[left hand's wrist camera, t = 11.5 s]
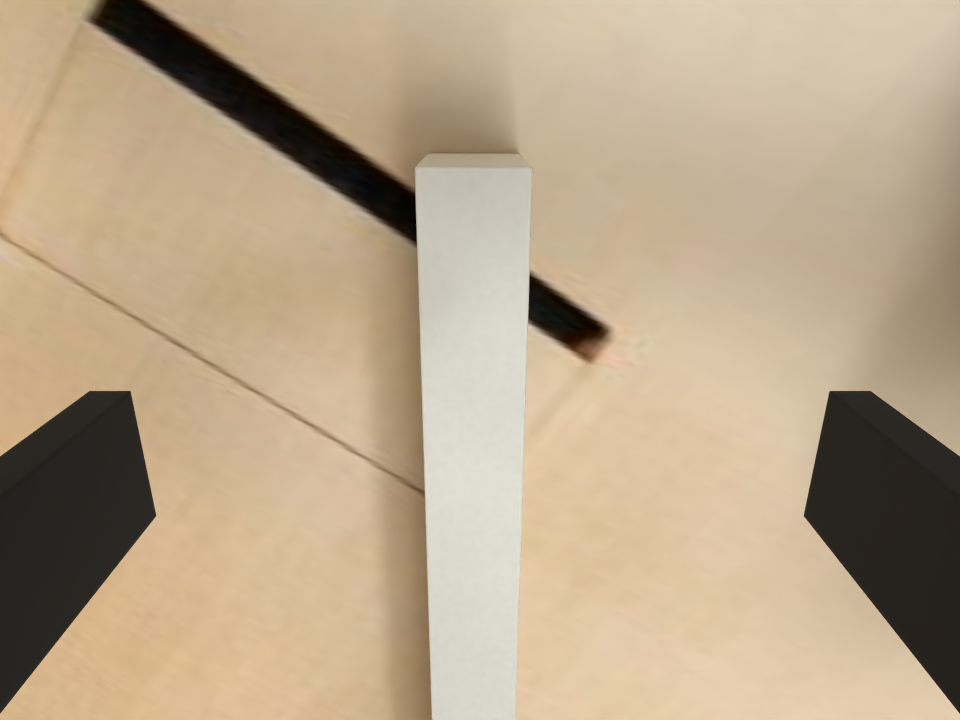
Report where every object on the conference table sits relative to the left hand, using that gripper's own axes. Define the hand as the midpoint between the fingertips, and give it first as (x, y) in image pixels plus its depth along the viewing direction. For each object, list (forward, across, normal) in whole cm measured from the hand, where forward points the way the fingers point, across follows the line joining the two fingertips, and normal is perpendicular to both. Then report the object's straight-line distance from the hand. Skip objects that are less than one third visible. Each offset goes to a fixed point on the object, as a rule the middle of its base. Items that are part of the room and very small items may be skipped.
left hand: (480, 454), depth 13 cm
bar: (+26, 0, -32) cm, 41 cm away
